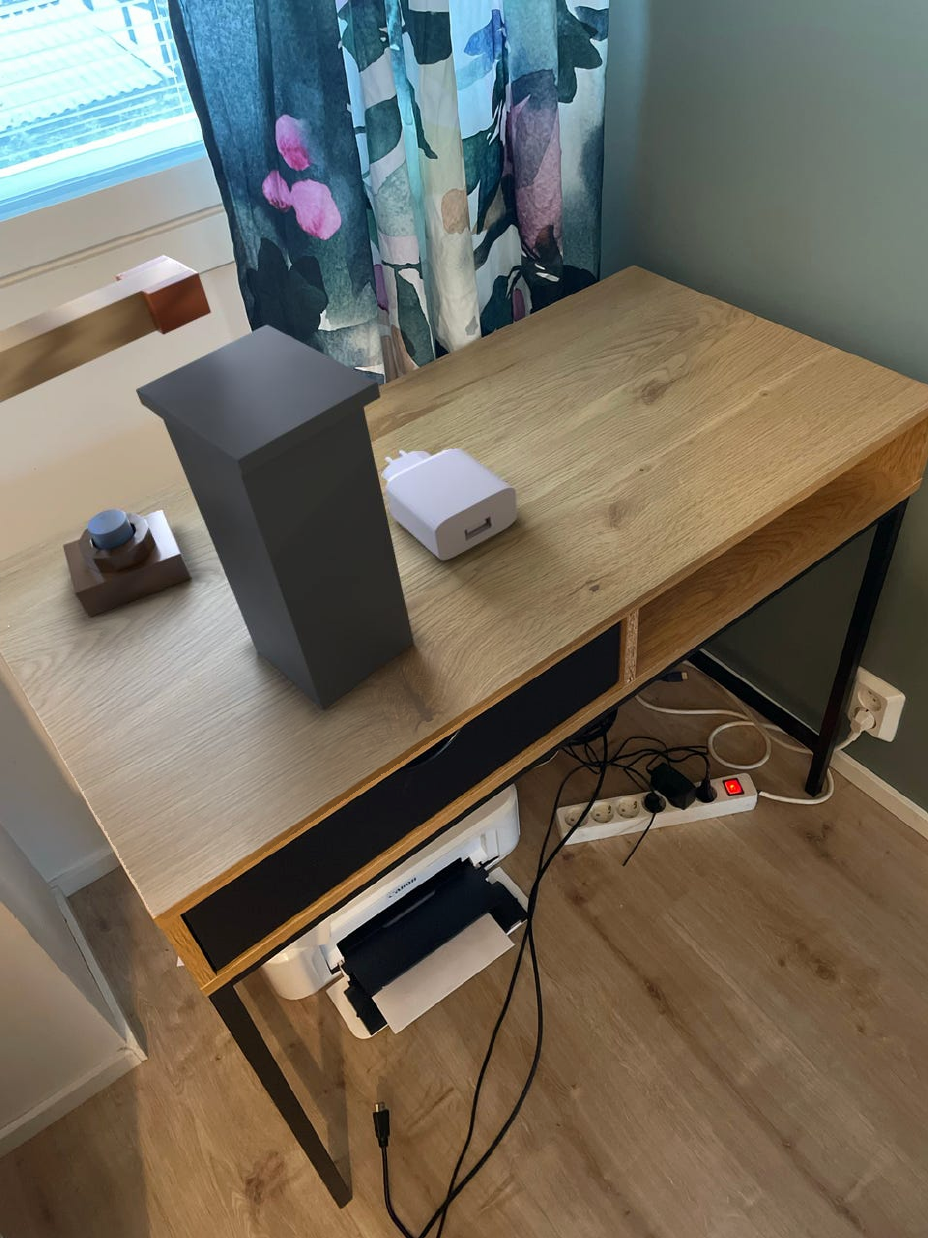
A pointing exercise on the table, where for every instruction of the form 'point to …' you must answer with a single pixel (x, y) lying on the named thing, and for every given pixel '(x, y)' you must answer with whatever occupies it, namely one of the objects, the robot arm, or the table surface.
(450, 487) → the charger
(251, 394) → the stand
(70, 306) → the stick
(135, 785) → the table surface
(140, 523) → the button base
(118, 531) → the plunger
